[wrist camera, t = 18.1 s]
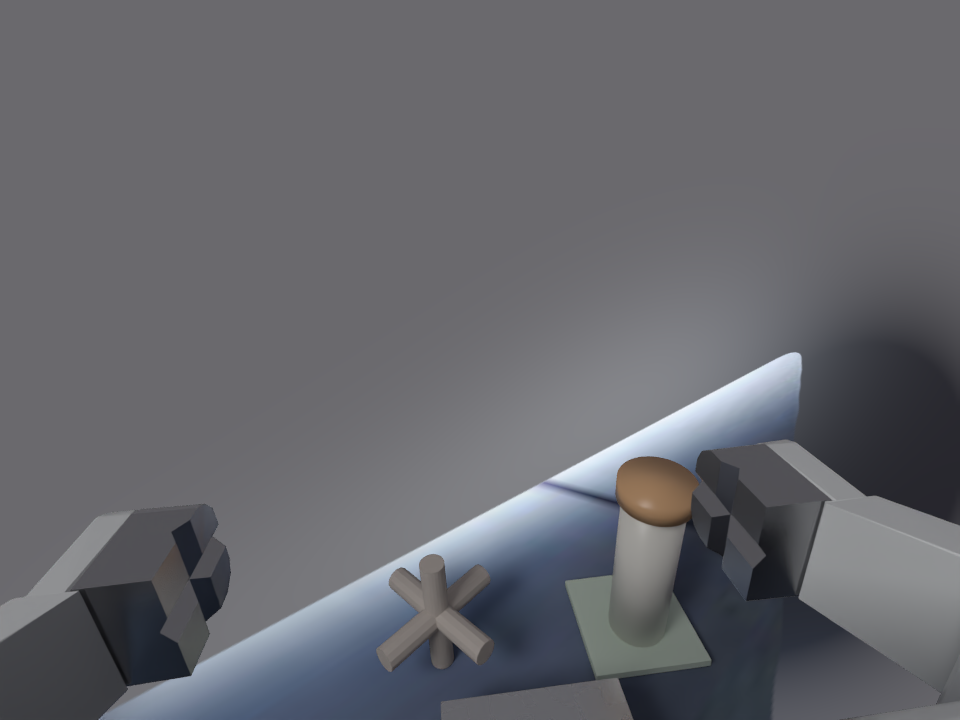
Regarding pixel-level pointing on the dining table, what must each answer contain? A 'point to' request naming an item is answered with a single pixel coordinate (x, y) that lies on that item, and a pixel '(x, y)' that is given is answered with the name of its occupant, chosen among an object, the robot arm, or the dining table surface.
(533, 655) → the dining table surface
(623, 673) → the rubber mat
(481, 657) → the pipe connector
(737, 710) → the dining table surface
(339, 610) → the dining table surface
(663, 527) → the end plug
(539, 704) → the housing block
